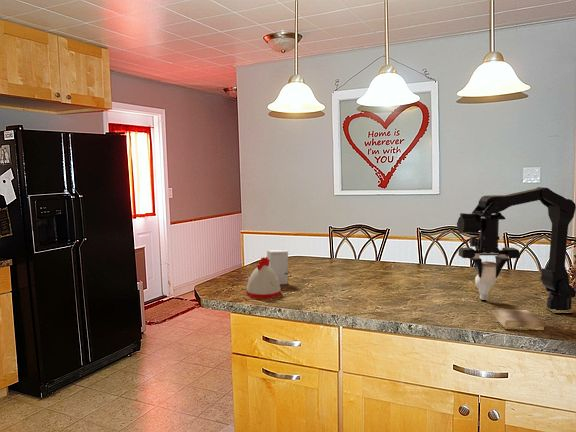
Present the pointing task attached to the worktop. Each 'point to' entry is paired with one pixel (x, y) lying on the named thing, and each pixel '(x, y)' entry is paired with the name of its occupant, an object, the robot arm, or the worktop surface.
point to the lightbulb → (482, 288)
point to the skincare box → (279, 264)
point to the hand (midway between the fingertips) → (487, 277)
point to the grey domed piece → (263, 281)
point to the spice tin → (488, 273)
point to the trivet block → (517, 318)
